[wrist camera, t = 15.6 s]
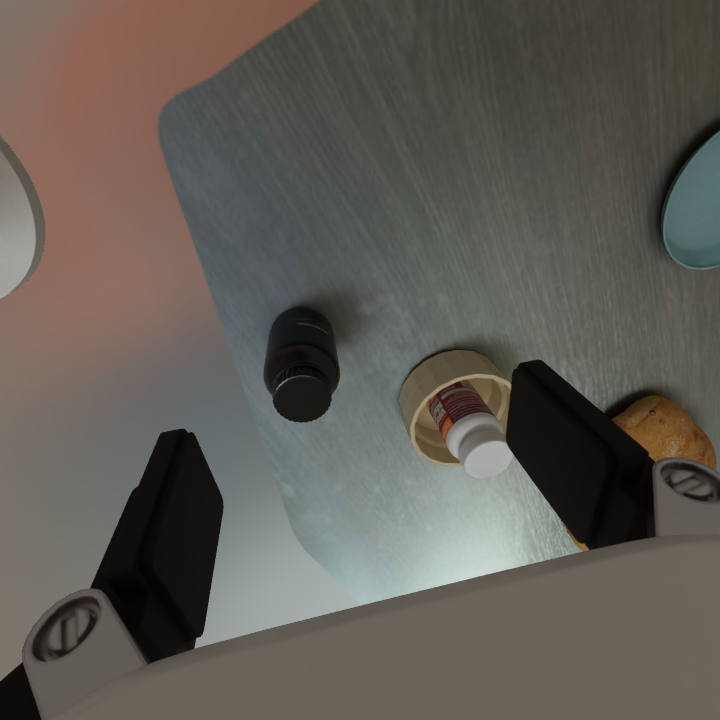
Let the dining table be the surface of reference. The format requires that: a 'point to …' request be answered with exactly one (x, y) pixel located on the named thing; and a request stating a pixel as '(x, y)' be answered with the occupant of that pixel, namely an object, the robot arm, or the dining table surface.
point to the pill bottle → (470, 430)
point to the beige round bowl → (439, 376)
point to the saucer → (695, 210)
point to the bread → (664, 433)
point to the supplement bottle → (301, 365)
